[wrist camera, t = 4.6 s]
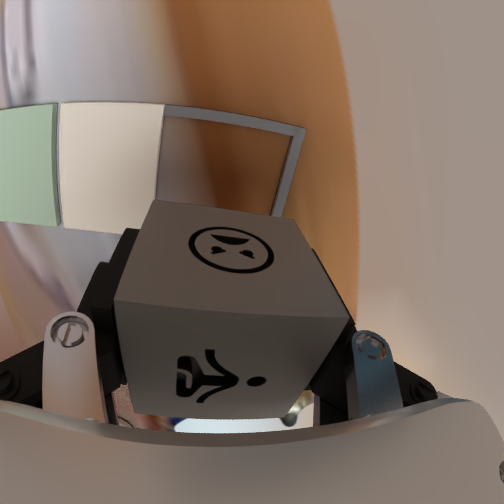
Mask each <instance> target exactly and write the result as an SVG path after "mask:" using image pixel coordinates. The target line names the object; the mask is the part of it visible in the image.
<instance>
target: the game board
mask: <svg viewBox="0 0 504 504" xmlns="http://www.w3.org/2000/svg"><path fill="white" fill-rule="evenodd" d="M57 106H58V103H54V104H42V105H32V106H23V107H16V108H9V109H3V110H0V221H6V222H15V223H24V224H34V225H43V226H52V227H58V225H59V224H60V223H61V222H60V213H59V204H58V191H57V174H56V122H57ZM164 116H174V117H184V118H192V119H200V120H208V121H215V122H222V123H228V124H234V125H240V126H246V127H251V128H256V129H262V130H266V131H271V132H276V133H281V134H285V135H289V136H292V137H291V141H290V145H289V148H288V152H287V156H286V160H285V163H284V167H283V171H282V175H281V178H280V182H279V186H278V189H277V193H276V197H275V201H274V204H273V208H272V212H271V215H270V216H275V217H282V213H283V210H284V207H285V203H286V200H287V196H288V193H289V189H290V186H291V182H292V179H293V175H294V171H295V168H296V164H297V161H298V157H299V154H300V150H301V146H302V143H303V139H304V136H305V132H306V129H305V128H302V127H298V126H294V125H290V124H286V123H281V122H277V121H272V120H268V119H263V118H258V117H253V116H248V115H242V114H236V113H231V112H224V111H218V110H211V109H204V108H196V107H187V106H178V105H167V104H154V103H136V102H70V103H62V104H61V109H60V128H59V172H60V191H61V204H62V214H63V223H64V228H70V229H79V230H88V231H97V232H106V233H115V234H123V232H124V230H125V229H126V228H134V229H141V226H142V224H143V221H144V219H145V217H146V215H147V212H148V210H149V208H150V206H151V203H152V201H153V200H155V195H156V183H157V172H158V161H159V152H160V144H161V136H162V128H163V121H164Z"/></svg>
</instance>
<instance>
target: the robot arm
mask: <svg viewBox="0 0 504 504" xmlns="http://www.w3.org/2000/svg"><path fill="white" fill-rule="evenodd" d="M139 231H140V229H134V228H126V229H125V230H124V232H123V234H122V236H121V238H120V240H119V242H118V245H117V247H116V249H115V251H114V253H113V255H112V257H111V259H110V261H109V263H107V262H100V263H99V264H98V266H97V268H96V270H95V272H94V274H93V276H92V278H91V280H90V282H89V285H88V287H87V289H86V291H85V293H84V296H83V298H82V300H81V302H80V305H79V307H78V309H77V312H65V313H61V314H59V315H57V316H55V317H54V318H53V319H52V320H51V321H50V322H49V324H48V325H47V328H46V331H45V340H44V341H42V342H40V343H38V344H36V345H34V346H32V347H30V348H28V349H26V350H24V351H22V352H20V353H18V354H16V355H14V356H12V357H10V358H8V359H6V360H4V361H2V362H0V504H504V441H503V439H502V437H501V435H500V433H499V431H498V429H497V427H496V425H495V424H494V422H493V420H492V418H491V417H490V416H489V414H488V412H487V411H486V410H485V408H484V407H483V406H481V405H480V404H479V403H476V402H474V401H471V400H467V399H459V398H453V397H450V396H448V395H446V394H443V393H441V392H439V391H438V392H436V390H435V388H434V387H433V385H432V384H431V383H430V382H428V381H427V380H426V379H424V378H422V377H420V376H418V375H417V374H415V373H413V372H411V371H410V370H408V369H406V368H404V367H403V366H401V365H399V364H397V363H396V362H394V361H393V357H392V353H391V350H390V347H389V345H388V343H387V342H386V341H385V339H383V338H382V337H381V336H380V335H378V334H376V333H374V332H371V331H368V330H361V331H357V330H356V328H355V326H354V325H355V322H354V320H353V318H352V317H351V315H350V313H349V311H348V309H347V307H346V305H345V304H344V302H343V300H342V298H341V296H340V295H339V293H338V291H337V289H336V287H335V286H334V284H333V282H332V280H331V278H330V277H329V275H328V273H327V271H326V270H325V268H324V266H323V264H322V263H321V261H320V259H319V258H318V256H317V254H316V252H315V251H314V249H312V248H311V249H312V251H313V253H314V254H315V256H316V258H317V259H318V261H319V263H320V265H321V266H322V268H323V270H324V272H325V273H326V275H327V277H328V279H329V280H330V282H331V284H332V286H333V287H334V289H335V291H336V293H337V295H338V296H339V298H340V300H341V302H342V304H343V306H344V307H345V309H346V311H347V313H348V315H349V317H350V318H349V320H348V322H347V323H346V325H345V327H344V328H343V330H342V332H341V333H340V335H339V337H338V338H337V340H336V342H335V343H334V345H333V347H332V348H331V350H330V351H329V353H328V355H327V356H326V358H325V359H324V361H323V362H322V364H321V365H320V367H319V369H318V370H317V372H316V373H315V375H314V376H313V378H312V379H311V380H310V382H309V383H308V385H307V386H306V388H305V389H304V390H312V392H313V393H314V416H313V427H308V428H301V429H293V430H282V431H271V432H256V433H229V434H228V433H227V434H226V433H224V434H220V433H219V434H218V433H217V434H215V433H184V432H183V433H182V432H169V431H157V430H148V429H139V428H133V427H132V426H131V425H130V424H128V423H127V422H126V421H124V420H122V419H120V418H118V416H117V411H116V406H115V400H114V395H113V391H114V390H116V389H118V388H119V387H120V385H121V384H123V385H126V384H127V379H126V374H125V370H124V365H123V359H122V354H121V348H120V342H119V336H118V329H117V322H116V315H115V307H114V297H115V294H116V291H117V288H118V285H119V282H120V280H121V277H122V274H123V271H124V269H125V266H126V263H127V261H128V258H129V256H130V253H131V251H132V248H133V245H134V243H135V241H136V238H137V236H138V233H139Z"/></svg>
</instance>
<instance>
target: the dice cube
mask: <svg viewBox="0 0 504 504" xmlns="http://www.w3.org/2000/svg"><path fill="white" fill-rule="evenodd" d="M114 307H115V315H116V322H117V329H118V336H119V342H120V348H121V354H122V359H123V365H124V370H125V374H126V379H127V384H128V388H129V392H130V397H131V401H132V405H133V409H134V412H135V413H140V414H148V415H157V416H167V417H179V418H195V419H264V418H280V417H285V415H286V414H287V413H288V411H289V410H290V409H291V407H292V406H293V405H294V403H295V402H296V400H297V399H298V398H299V396H300V395H301V393H302V392H303V391H304V389H305V388H306V386H307V385H308V383H309V382H310V380H311V379H312V378H313V376H314V375H315V373H316V372H317V370H318V369H319V367H320V365H321V364H322V362H323V361H324V359H325V358H326V356H327V355H328V353H329V351H330V350H331V348H332V347H333V345H334V343H335V342H336V340H337V338H338V337H339V335H340V333H341V332H342V330H343V328H344V327H345V325H346V323H347V322H348V320H349V318H350V317H349V315H348V313H347V311H346V309H345V307H344V306H343V304H342V302H341V300H340V298H339V296H338V295H337V293H336V291H335V289H334V287H333V286H332V284H331V282H330V280H329V279H328V277H327V275H326V273H325V272H324V270H323V268H322V266H321V265H320V263H319V261H318V259H317V258H316V256H315V254H314V253H313V251H312V249H311V247H310V246H309V244H308V242H307V241H306V239H305V237H304V236H303V234H302V232H301V231H300V229H299V227H298V226H297V224H296V222H295V221H294V219H288V218H281V217H275V216H269V215H262V214H256V213H249V212H243V211H236V210H229V209H222V208H215V207H207V206H200V205H192V204H184V203H176V202H168V201H160V200H153V201H152V203H151V206H150V208H149V210H148V212H147V215H146V217H145V219H144V221H143V224H142V226H141V229H140V231H139V233H138V236H137V238H136V241H135V243H134V245H133V248H132V251H131V253H130V256H129V258H128V261H127V263H126V266H125V269H124V271H123V274H122V277H121V280H120V282H119V285H118V288H117V291H116V294H115V297H114Z"/></svg>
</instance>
